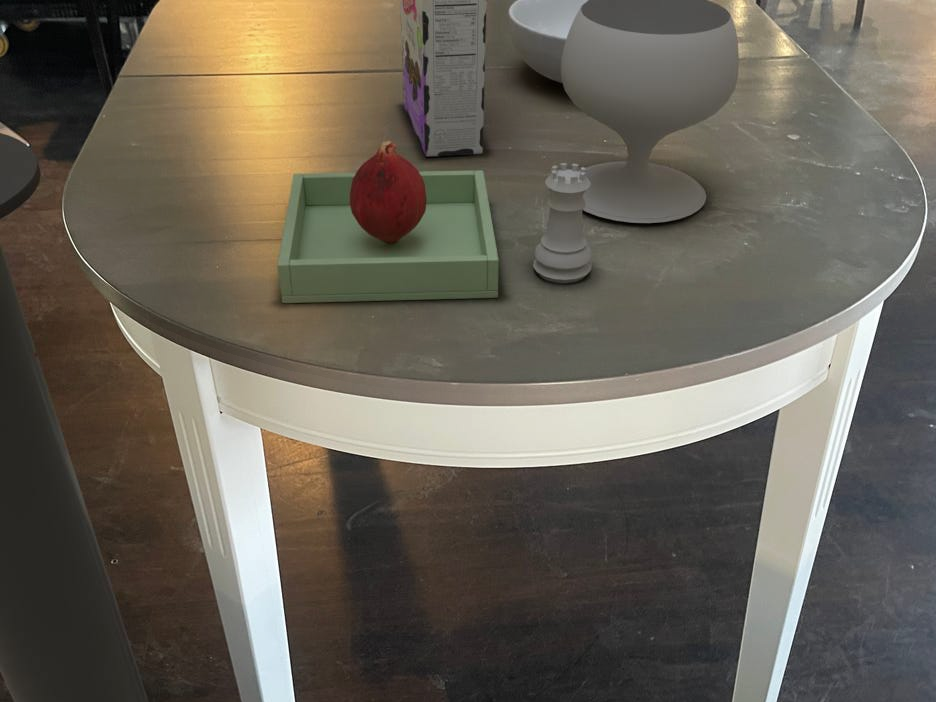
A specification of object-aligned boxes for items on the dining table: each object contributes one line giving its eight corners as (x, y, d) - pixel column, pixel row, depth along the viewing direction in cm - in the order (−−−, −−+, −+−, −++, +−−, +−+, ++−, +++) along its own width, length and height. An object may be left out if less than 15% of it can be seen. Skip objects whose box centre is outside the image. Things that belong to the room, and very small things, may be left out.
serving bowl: (733, 75, 112) (744, 9, 107) (627, 129, 99) (635, 56, 95) (580, 36, 122) (585, -26, 117) (467, 80, 110) (467, 13, 105)
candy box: (401, 105, 104) (394, -74, 93) (458, 102, 105) (457, -76, 94) (423, 159, 93) (419, -37, 83) (486, 154, 94) (489, -39, 84)
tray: (282, 303, 73) (277, 264, 71) (297, 208, 85) (293, 173, 83) (497, 298, 74) (498, 259, 72) (482, 205, 86) (483, 169, 84)
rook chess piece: (567, 291, 75) (575, 189, 70) (520, 272, 77) (524, 171, 72) (602, 269, 77) (612, 169, 72) (556, 251, 80) (562, 152, 74)
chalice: (565, 235, 82) (579, 41, 72) (543, 164, 92) (552, -12, 83) (735, 230, 83) (771, 38, 73) (694, 161, 93) (720, -14, 84)
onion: (413, 265, 76) (409, 163, 71) (341, 254, 77) (333, 153, 72) (437, 231, 81) (435, 132, 75) (369, 222, 82) (362, 124, 77)
